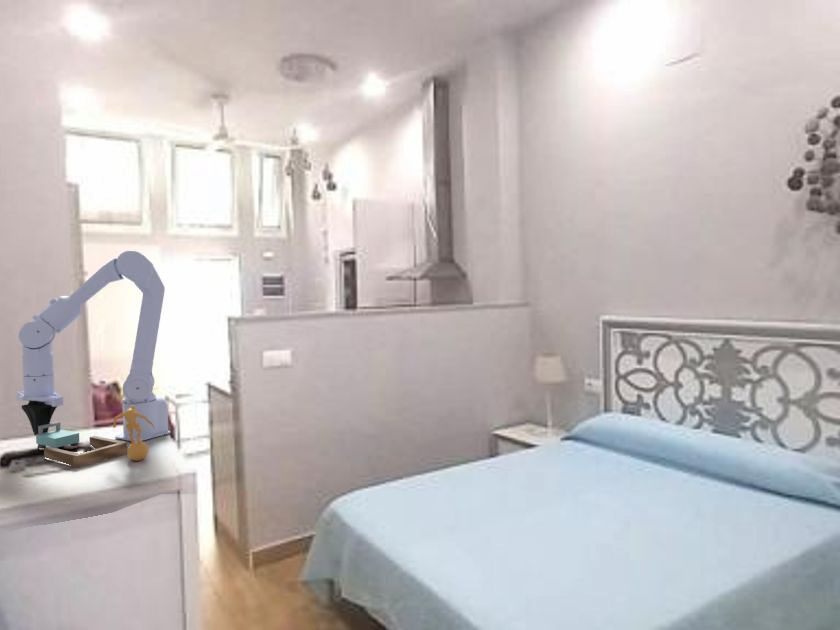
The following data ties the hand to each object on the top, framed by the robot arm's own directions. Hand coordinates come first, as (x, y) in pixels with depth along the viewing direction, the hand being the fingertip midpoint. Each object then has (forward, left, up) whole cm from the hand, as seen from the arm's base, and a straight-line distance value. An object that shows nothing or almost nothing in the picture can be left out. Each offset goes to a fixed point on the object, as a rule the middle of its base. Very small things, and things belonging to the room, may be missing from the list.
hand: (40, 434), depth 130 cm
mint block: (0, +6, -3) cm, 7 cm away
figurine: (-2, +29, -3) cm, 29 cm away
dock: (0, +16, -3) cm, 16 cm away
